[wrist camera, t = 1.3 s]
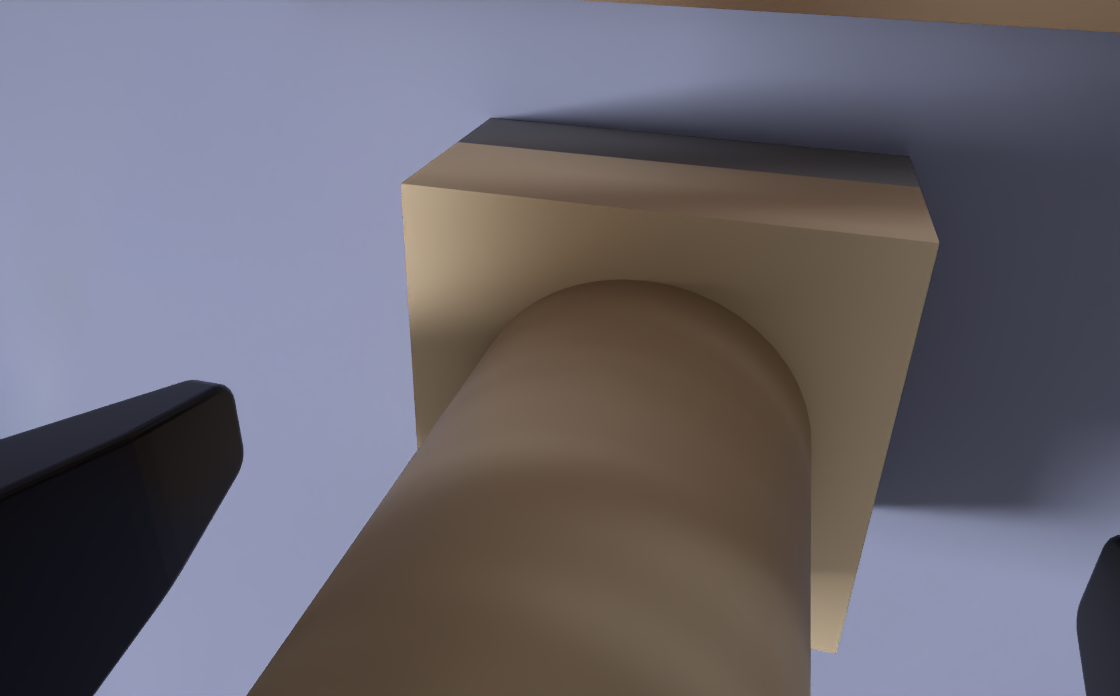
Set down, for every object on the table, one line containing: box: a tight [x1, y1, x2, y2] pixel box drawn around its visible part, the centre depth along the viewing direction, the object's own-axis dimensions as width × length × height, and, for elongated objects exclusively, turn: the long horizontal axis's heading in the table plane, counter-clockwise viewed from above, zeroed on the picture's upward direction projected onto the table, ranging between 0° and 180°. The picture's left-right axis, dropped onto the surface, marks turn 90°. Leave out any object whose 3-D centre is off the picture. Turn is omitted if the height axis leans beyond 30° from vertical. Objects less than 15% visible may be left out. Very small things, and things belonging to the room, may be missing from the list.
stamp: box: [247, 118, 939, 696], centre depth 8 cm, size 5×5×9 cm
